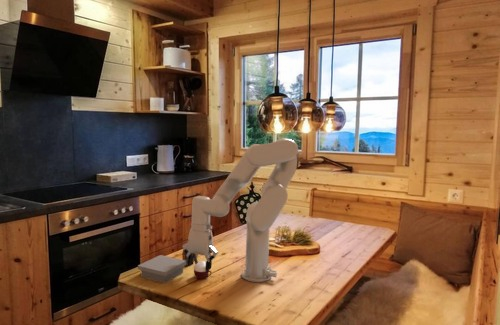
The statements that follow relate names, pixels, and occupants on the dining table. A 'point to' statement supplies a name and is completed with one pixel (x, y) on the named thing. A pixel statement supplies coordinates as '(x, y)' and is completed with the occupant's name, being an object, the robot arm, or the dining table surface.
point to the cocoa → (200, 269)
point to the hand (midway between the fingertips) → (199, 267)
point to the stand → (162, 268)
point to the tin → (187, 257)
